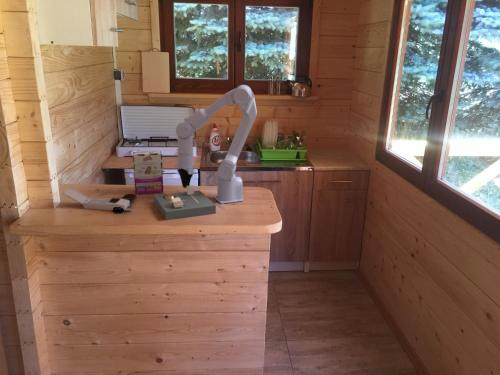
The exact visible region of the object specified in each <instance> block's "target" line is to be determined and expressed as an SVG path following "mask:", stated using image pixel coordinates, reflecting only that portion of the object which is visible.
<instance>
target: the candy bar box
mask: <svg viewBox="0 0 500 375" xmlns="http://www.w3.org/2000/svg"><path fill="white" fill-rule="evenodd" d="M132 163H133V164H132V165H133V179H134V180H133V182H134V194H135V195H149V194H150V195H151V194H164V179H163V178H164V174H163V173H164V172H163V171H164V170H163V154H162V151H161V150H156V151H155V150H154V151H149V150H148V151H133V152H132Z"/></svg>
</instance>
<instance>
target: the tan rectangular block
mask: <svg viewBox="0 0 500 375" xmlns="http://www.w3.org/2000/svg"><path fill="white" fill-rule="evenodd" d="M194 191H195V186H194V185H191V184H190V185H189V186H187V188H186V192H187V194H188V195H191V194H194Z"/></svg>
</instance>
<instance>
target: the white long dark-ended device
mask: <svg viewBox="0 0 500 375" xmlns="http://www.w3.org/2000/svg"><path fill="white" fill-rule="evenodd" d="M62 194H63V195H65V196H66V197H68V198H69V199H71V200H74V202H77V203H79V204H81V205H82V207H83V209H87V210H88V209H89V210H98V211H99V210H100V211H111V210H113V208H114V207H121V208H123V209H124V211H123V212H125V211H126V212H130V211H132V208H129V207H130V205H131V204H130V200H129V199H125V198H119V197H112V198H105V197H104V198H103V197H99V198H98V197H88V196H87V195H85V194H83V193H81V192H79V191H78V190H76V189H74V188H72V187H69V188H67V189H64V190H63V192H62Z"/></svg>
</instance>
